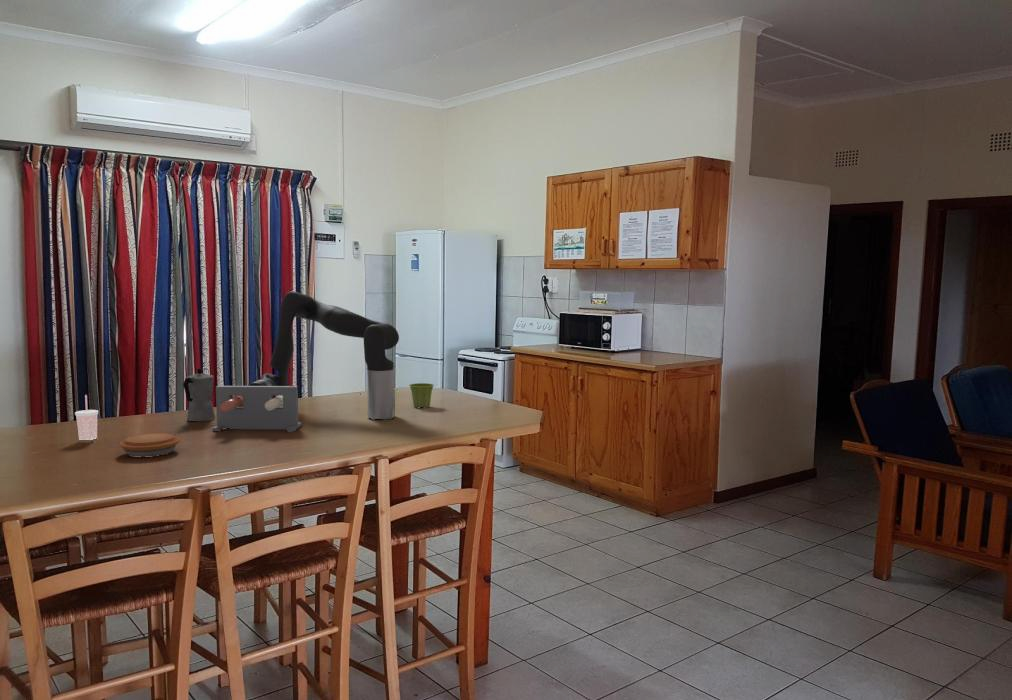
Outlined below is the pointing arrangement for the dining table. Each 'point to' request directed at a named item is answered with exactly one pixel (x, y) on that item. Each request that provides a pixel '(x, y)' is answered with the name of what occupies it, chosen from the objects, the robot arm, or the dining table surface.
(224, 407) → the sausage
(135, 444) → the pie
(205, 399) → the coffeepot
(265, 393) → the panel
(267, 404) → the beige lever
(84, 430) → the beverage cup
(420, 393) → the plant pot
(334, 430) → the dining table surface
